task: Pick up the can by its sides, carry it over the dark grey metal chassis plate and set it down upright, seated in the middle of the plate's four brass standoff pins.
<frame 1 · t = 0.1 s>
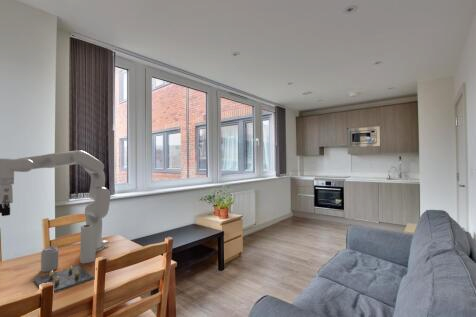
hand: (3, 214, 131), 31 cm above the table, tool pointing down, fingers open, 9 cm apart
paper towel roll: (86, 262, 146), on the table
chassis: (64, 279, 125), on the table
can: (49, 270, 135), on the table
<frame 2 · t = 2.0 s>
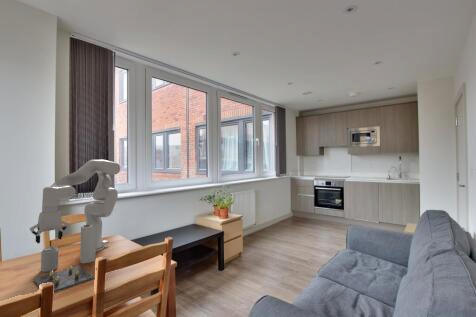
hand: (49, 240, 135), 16 cm above the table, tool pointing down, fingers open, 9 cm apart
nothing on the table moved.
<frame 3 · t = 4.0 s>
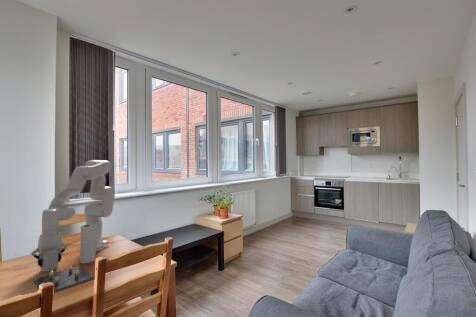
hand: (49, 263, 135), 3 cm above the table, tool pointing down, fingers closed on can, 7 cm apart
can: (49, 270, 135), on the table, touching gripper
everything else where it was.
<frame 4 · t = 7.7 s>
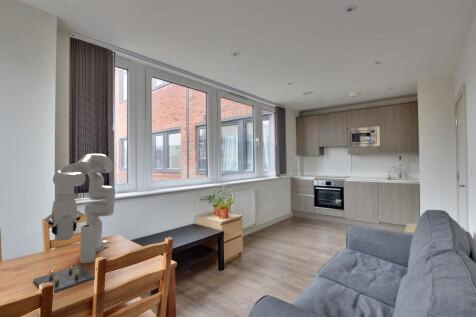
hand: (64, 232, 125), 24 cm above the table, tool pointing down, fingers closed on can, 7 cm apart
can: (64, 239, 125), point 20 cm above the table, touching gripper
everything else where it was.
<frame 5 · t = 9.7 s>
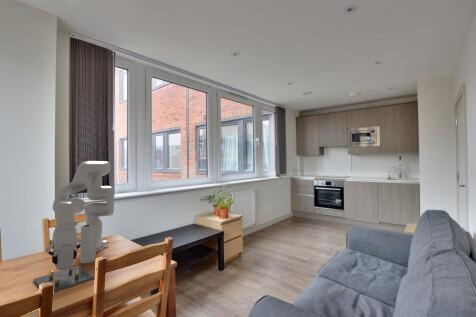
hand: (64, 260, 125), 10 cm above the table, tool pointing down, fingers closed on can, 7 cm apart
can: (64, 267, 125), point 6 cm above the table, touching gripper
everything else where it was.
when the fingers open (6 cm above the table, at t = 11.5 s): can drops 1 cm, resting on chassis.
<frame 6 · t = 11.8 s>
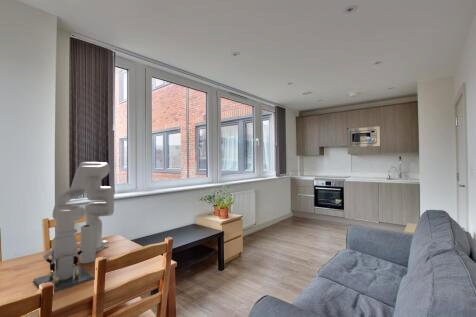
hand: (64, 267, 125), 6 cm above the table, tool pointing down, fingers open, 9 cm apart
can: (64, 278, 125), point 1 cm above the table, touching chassis
everything else where it was.
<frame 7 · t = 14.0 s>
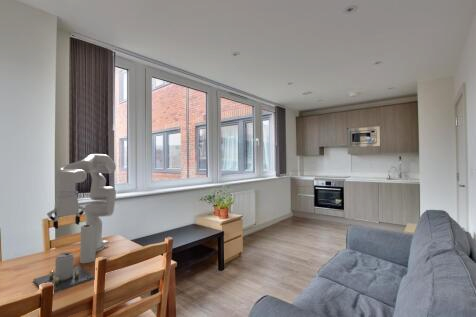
hand: (67, 226, 131), 25 cm above the table, tool pointing down, fingers open, 9 cm apart
nothing on the table moved.
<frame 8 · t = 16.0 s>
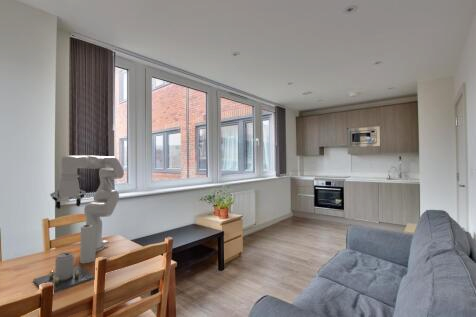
hand: (68, 207, 141), 33 cm above the table, tool pointing down, fingers open, 9 cm apart
nothing on the table moved.
at the end: can 0.2 cm off-centre on the chassis, point 0.8 cm above the chassis's base; can tilted 0°; the gripper is holding nothing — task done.
